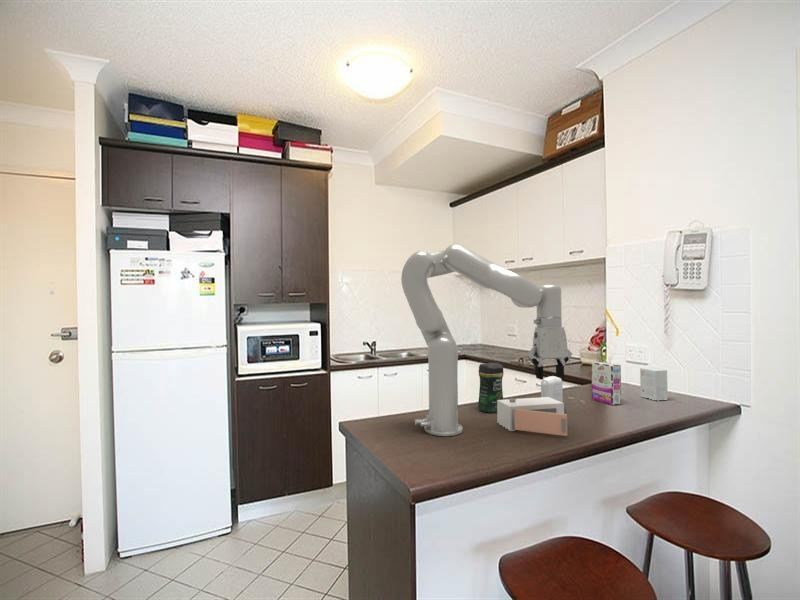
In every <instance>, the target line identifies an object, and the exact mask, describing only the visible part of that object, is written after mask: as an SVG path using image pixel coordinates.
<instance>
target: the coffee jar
mask: <svg viewBox="0 0 800 600" xmlns="http://www.w3.org/2000/svg"><path fill="white" fill-rule="evenodd" d="M504 374H505V373H504V366H503V364H502V363H498V362H488V363H481V364H479V365H478V376H479V393H478V404H477V405H478V410H479V411H480V412H484V413H497V400H504V393H503V392H504V391H503V377H504Z"/></svg>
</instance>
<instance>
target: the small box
mask: <svg viewBox="0 0 800 600" xmlns="http://www.w3.org/2000/svg"><path fill="white" fill-rule="evenodd" d="M639 368H640V369H639V371H640V372H639V376H640V377H639V378H640V381H639V383H640V389H639V390H640V397H641V396H642V397H646V398H649V399H648V400H650V399H652V400H651V401H653V400H666V401H668V400H669V399H668V397H669V395H668V370H667V369H666V370H665V369H660V368H656V367H639ZM642 397H641V398H642ZM646 398H645V399H646Z"/></svg>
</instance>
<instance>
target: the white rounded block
mask: <svg viewBox="0 0 800 600" xmlns="http://www.w3.org/2000/svg"><path fill="white" fill-rule="evenodd" d="M563 385H564V384H563V380H562V378H558V377H556V375H555V376H554V375H552V376H551V375H550V376H547V377H545V378H543V379H542V380H541V383H540V397H550V398H552V399H555V400H557V401H560V402H562V403H564V402H563V401H564V400H563V396H564V395H563Z"/></svg>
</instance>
